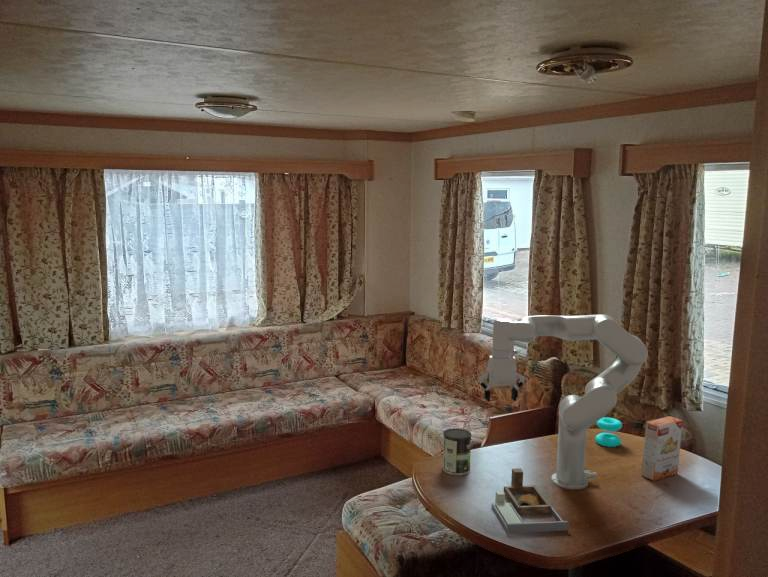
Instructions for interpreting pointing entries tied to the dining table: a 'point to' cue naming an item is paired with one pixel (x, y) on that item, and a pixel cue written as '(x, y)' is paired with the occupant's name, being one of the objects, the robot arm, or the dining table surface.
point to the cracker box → (661, 447)
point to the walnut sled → (520, 489)
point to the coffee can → (456, 451)
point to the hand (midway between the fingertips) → (500, 400)
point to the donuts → (608, 438)
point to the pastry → (528, 500)
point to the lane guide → (534, 526)
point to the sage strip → (505, 509)
